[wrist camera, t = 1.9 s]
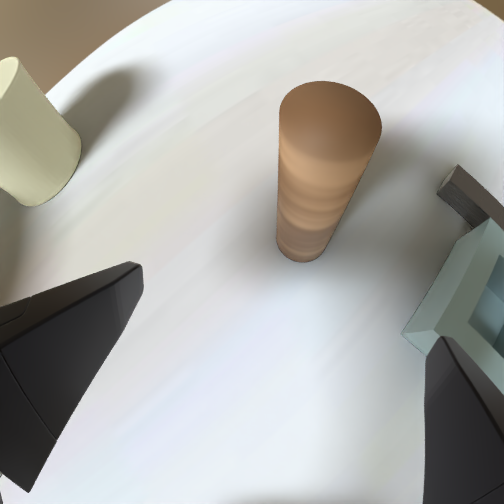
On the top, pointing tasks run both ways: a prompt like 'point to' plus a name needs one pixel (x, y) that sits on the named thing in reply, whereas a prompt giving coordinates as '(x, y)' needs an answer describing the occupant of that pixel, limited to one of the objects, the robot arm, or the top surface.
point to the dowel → (320, 162)
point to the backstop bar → (470, 198)
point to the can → (32, 139)
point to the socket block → (467, 302)
